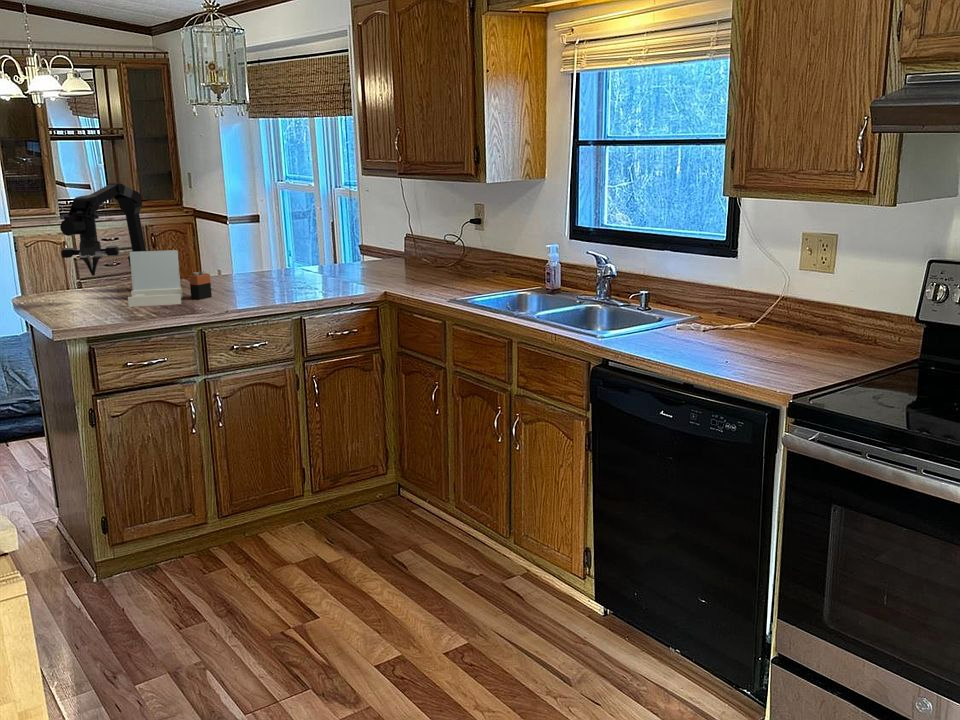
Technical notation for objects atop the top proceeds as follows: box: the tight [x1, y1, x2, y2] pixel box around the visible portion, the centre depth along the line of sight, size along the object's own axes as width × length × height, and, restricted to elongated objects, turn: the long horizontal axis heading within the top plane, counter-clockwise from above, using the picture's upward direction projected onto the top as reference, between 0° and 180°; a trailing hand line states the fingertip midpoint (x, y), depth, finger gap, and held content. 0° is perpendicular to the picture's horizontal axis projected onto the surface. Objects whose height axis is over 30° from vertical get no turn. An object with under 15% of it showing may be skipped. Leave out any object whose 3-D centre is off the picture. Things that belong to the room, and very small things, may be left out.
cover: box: [129, 249, 181, 291], centre depth 326 cm, size 14×17×1 cm
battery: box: [188, 271, 212, 300], centre depth 327 cm, size 4×7×10 cm, turn 151°
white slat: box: [127, 287, 183, 308], centre depth 320 cm, size 14×18×4 cm
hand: (93, 275), depth 314 cm, fingers closed
